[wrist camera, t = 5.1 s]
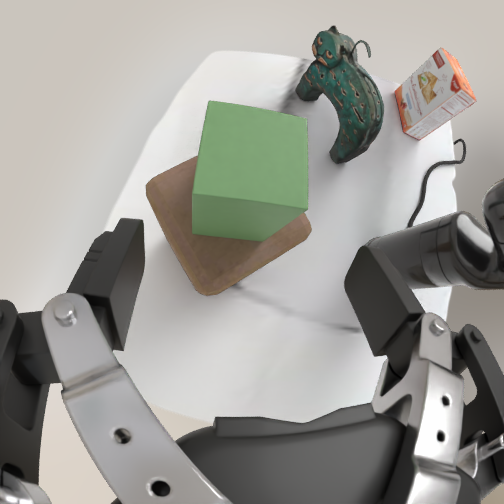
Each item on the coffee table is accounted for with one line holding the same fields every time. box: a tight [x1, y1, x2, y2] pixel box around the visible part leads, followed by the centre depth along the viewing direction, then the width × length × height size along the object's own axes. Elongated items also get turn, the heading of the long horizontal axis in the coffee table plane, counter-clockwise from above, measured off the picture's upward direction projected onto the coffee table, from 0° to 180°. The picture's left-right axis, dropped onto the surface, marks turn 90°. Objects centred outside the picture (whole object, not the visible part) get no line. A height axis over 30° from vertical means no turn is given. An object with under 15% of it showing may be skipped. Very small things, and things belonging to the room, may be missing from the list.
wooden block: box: [146, 156, 312, 296], centre depth 29 cm, size 10×10×20 cm
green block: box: [192, 101, 308, 242], centre depth 16 cm, size 5×5×8 cm
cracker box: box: [395, 48, 476, 140], centre depth 43 cm, size 14×6×21 cm, turn 173°
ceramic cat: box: [296, 26, 384, 164], centre depth 37 cm, size 20×6×20 cm, turn 20°
